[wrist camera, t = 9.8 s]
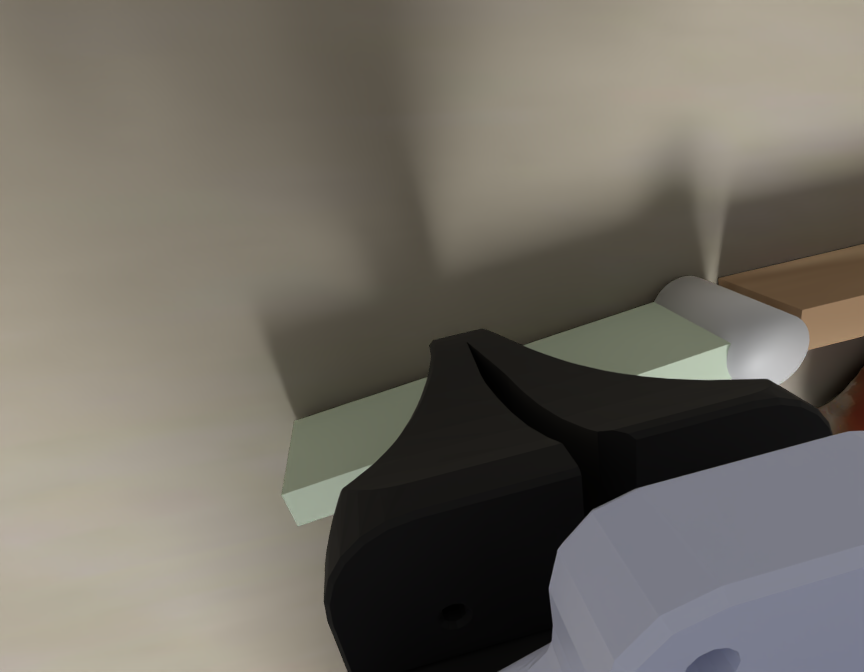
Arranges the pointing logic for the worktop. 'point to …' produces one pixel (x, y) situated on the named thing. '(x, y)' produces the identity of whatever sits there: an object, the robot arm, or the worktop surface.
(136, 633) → the worktop surface
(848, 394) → the fruit
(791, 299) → the cradle
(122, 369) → the worktop surface
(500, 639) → the robot arm
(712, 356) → the gate
